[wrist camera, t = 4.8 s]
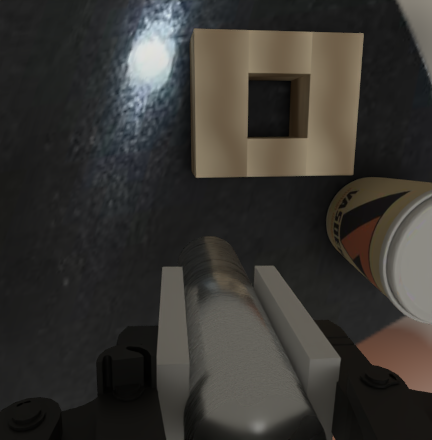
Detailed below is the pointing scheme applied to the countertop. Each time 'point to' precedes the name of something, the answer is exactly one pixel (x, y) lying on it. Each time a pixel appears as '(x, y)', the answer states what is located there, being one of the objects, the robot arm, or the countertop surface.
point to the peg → (236, 356)
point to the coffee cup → (388, 238)
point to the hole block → (299, 102)
